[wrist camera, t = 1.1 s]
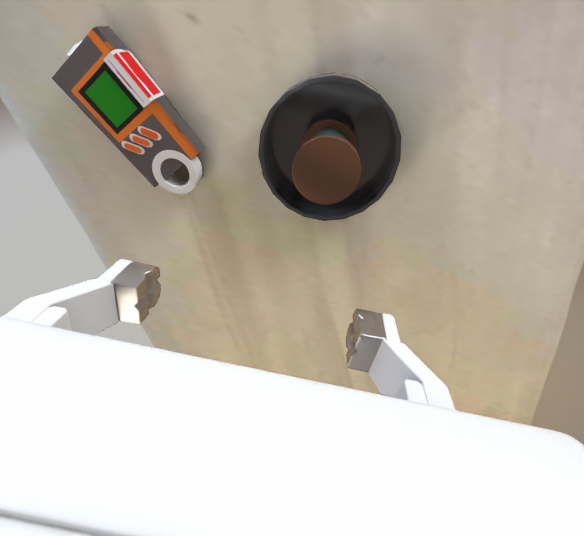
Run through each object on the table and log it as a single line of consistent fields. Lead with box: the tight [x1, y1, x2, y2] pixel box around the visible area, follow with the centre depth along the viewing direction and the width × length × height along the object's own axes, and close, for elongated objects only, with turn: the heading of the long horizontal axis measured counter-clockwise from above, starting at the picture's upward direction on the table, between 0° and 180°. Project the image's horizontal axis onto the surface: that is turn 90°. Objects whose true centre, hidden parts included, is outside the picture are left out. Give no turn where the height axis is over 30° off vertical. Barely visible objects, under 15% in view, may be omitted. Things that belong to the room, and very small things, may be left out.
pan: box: [259, 73, 401, 221], centre depth 31 cm, size 13×13×3 cm
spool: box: [292, 118, 361, 204], centre depth 29 cm, size 6×6×7 cm
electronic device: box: [52, 26, 205, 194], centre depth 32 cm, size 7×3×15 cm
